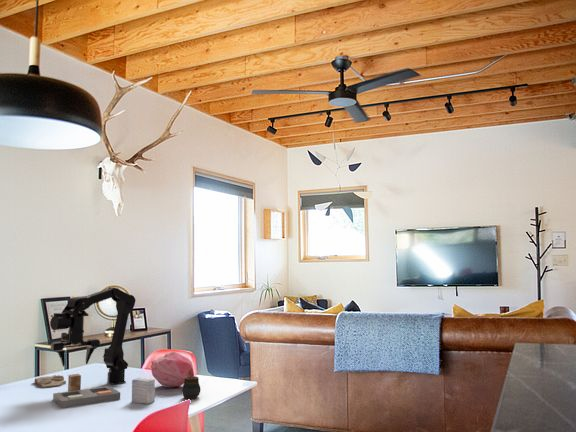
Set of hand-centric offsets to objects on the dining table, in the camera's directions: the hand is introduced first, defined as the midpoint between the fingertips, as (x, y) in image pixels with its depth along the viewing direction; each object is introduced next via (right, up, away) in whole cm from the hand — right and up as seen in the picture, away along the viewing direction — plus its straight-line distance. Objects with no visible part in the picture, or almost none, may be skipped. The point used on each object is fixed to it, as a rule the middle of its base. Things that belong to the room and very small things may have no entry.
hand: (75, 365), depth 223 cm
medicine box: (+33, -10, -16) cm, 38 cm away
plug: (0, -11, -1) cm, 11 cm away
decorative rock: (+39, -12, +9) cm, 41 cm away
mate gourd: (+50, -11, -9) cm, 52 cm away
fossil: (-17, -13, +14) cm, 25 cm away
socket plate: (+10, -10, -12) cm, 19 cm away
